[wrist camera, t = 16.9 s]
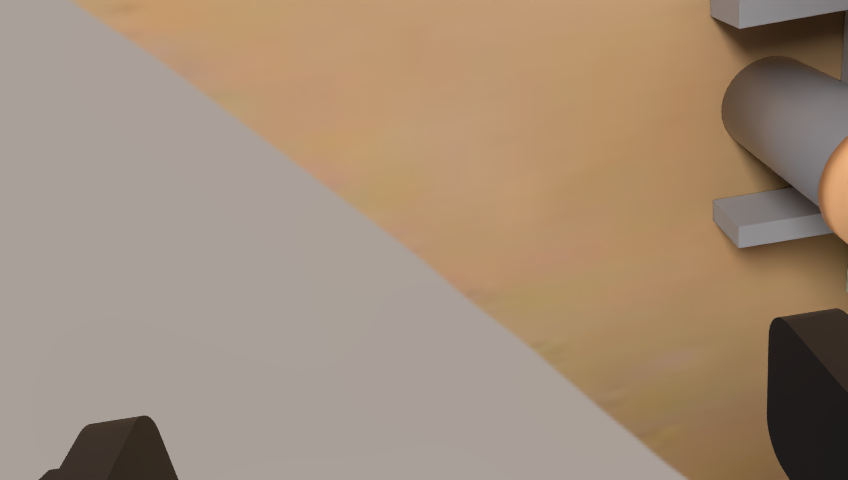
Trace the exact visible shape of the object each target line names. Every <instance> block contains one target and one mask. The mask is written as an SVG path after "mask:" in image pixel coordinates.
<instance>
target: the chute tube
mask: <svg viewBox="0 0 848 480" xmlns="http://www.w3.org/2000/svg"><path fill="white" fill-rule="evenodd" d="M722 120H723V124H724V126H725V128H726V130H727V132H728V133H729V135H730V136H731V137H732V138H733V139H734V140H735V141H737V142H738V143H739V144H740V145H742V146H743V147H744V148H745V149H747V150H748V151H749V152H750V153H752V154H753V155H754V156H755V157H757V158H758V159H759V160H760V161H762V162H763V163H764V164H765V165H767V166H768V167H769V168H771V169H772V170H773V171H774V172H776V173H777V174H778V175H779V176H781V177H782V178H783V179H784V180H786V181H787V182H788V183H789V184H791V185H792V186H793V187H794V188H796V189H797V190H798V191H799V192H801V193H802V194H803V195H804V196H806V197H807V198H808V199H809V200H811V201H812V202H813V203H814V204H816V205H817V206H818V207H819V208H820V211H821V214H822V217H823V219H824V221H825V223H826V224H827V225H828V227H829V228H830V229H831V230H832V231H833V232H834V233H835V234H836V235H837V236H839V237H840V238H841V239H842V240H843V241H845V242H846V243H847V244H848V84H846V83H844V82H842V81H840V80H838V79H836V78H833V77H831V76H829V75H827V74H825V73H823V72H821V71H819V70H816V69H814V68H812V67H810V66H808V65H806V64H804V63H801V62H799V61H797V60H795V59H792V58H789V57H784V56H772V57H767V58H763V59H760V60H757V61H755V62H753V63H751V64H750V65H748V66H747V67H745V68H744V69H743V70H742V71H740V72H739V73H738V74H737V75H736V76H735V78H734V79H733V80H732V82H731V83H730V85H729V86H728V88H727V90H726V92H725V95H724V98H723V102H722Z"/></svg>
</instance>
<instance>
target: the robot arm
mask: <svg viewBox="0 0 848 480" xmlns="http://www.w3.org/2000/svg"><path fill="white" fill-rule="evenodd" d="M767 423H768V430H769V435H770V439H771V443H772V446H773V449H774V452H775V454H776V457H777V459H778V461H779V463H780V465H781V467H782V468H783V470H784V471H785V473H786V475H787V476H788V478H789V479H790V480H848V314H847V313H845V312H844V311H842V310H841V309H837V308H835V309H829V310H823V311H816V312H810V313H804V314H797V315H791V316H784V317H778V318H775V319H774V320H773V321H772V322H771V325H770V329H769V347H768V389H767ZM39 480H178V478H177V475H176V473H175V470H174V468H173V466H172V463H171V460H170V458H169V455H168V453H167V450H166V448H165V445H164V443H163V440H162V438H161V435H160V433H159V430H158V428H157V426H156V424H155V423H154V421H153V420H152V419H151V418H149V417H148V416H139V417H132V418H126V419H120V420H114V421H107V422H101V423H94V424H89V425H87V426H85V427H84V429H82V431H81V432H80V434H79V435H78V437H77V439H76V440H75V442H74V444H73V446H72V448H71V449H70V451H69V453H68V454H67V456H66V458H65V460H64V461H63V463H62V465H61V466H60V468H59V469H53V470H49V471H48V472H47V473H46V474H44V475H43V476H42V477H41V478H40V479H39Z"/></svg>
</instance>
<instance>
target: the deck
mask: <svg viewBox="0 0 848 480" xmlns="http://www.w3.org/2000/svg"><path fill="white" fill-rule="evenodd" d="M843 10H845V24H844V41H843V58H842V74H841V81H842V82H844V83H846V84H848V0H711V16H712V17H714V18H716V19H718V20H721V21H723V22H725V23H727V24H729V25H732V26H734V27H736V28H738V29H741V28H747V27H753V26H758V25H764V24H770V23H775V22H781V21H787V20H792V19H798V18H803V17H809V16H815V15H820V14H826V13H832V12H837V11H843ZM713 221H714V222H715V223H716V224H717V225H718V226H719V227H720V228H721V229H722V231H723V232H724V233H725V234H726V235H727V236H728V237H729V238H730V239H731V241H732V242H733V243H734V244H735V245H736V246H737V247H738V248H743V247H750V246H756V245H762V244H768V243H774V242H780V241H786V240H793V239H799V238H805V237H811V236H817V235H823V234H830V233H834V232H833V231H832V230H831V229H830V228H829V227H828V225H827V224H826V223H825V221H824V219H823V217H822V214H821V211H820V208H819V207H818V206H817V205H816V204H814V203H813V202H812V201H811V200H809V199H808V198H807V197H806V196H804V195H803V194H802V193H801V192H799V191H798V190H797V189H796V188H794V187H790V188H784V189H778V190H772V191H766V192H760V193H754V194H748V195H742V196H736V197H730V198H724V199H718V200H713ZM846 292H847V293H848V270H847V284H846Z"/></svg>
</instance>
